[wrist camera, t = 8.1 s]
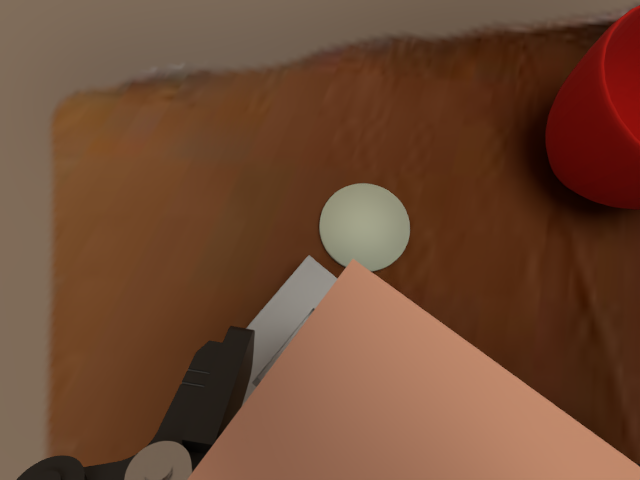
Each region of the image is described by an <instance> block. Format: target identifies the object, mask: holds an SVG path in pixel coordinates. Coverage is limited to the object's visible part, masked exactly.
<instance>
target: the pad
mask: <svg viewBox="0 0 640 480" xmlns="http://www.w3.org/2000/svg"><path fill="white" fill-rule="evenodd" d="M319 229H320V237H321V240H322V243H323V246H324V248H325V249H326V251H327V253H328V254H329V255H330V256H331V258H333V259H334V260H335V261H336V262H337V263H339V264H340V265H342V266H343V267H345V268H346V267H347V266H348V264H349V263H350V262H351V260H352V259H354V260H355V261H357V262H358V263H360V264H361V265H362V266H364V267H365V268H367V269H368V270H369V271H371V272H372V271H377V270H380V269H383V268H385V267H387V266H389V265H390V264H392V263H393V262H394V261H395V260H396V259H398V257H399V256H400V255H401V254H402V253H403V251H404V250H405V247H406V245H407V243H408V240H409V235H410V223H409V218H408V215H407V212H406V210H405V208H404V206H403V205H402V203H401V202H400V201H399V199H398V198H397V197H396V196H395V195H393V194H392V193H391V192H389V191H388V190H386V189H384V188H382V187H379V186H377V185H373V184H354V185H350V186H347V187H344V188H342V189H341V190H339V191H337V192H336V193H335V194H334V195H333V196H332V197H331V198H330V199H329V200H328V201H327V203H326V204H325V206H324V208H323V211H322V213H321V217H320V225H319Z"/></svg>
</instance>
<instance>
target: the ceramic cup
mask: <svg viewBox="0 0 640 480" xmlns="http://www.w3.org/2000/svg"><path fill="white" fill-rule="evenodd" d="M545 137H546V150H547V154H548V159H549V163H550V166H551V168H552V170H553V173H554V174H555V175H556V177H557V178H558V179H559V180H560V182H561V183H562V184H563V185H565V186H566V187H567V188H569V189H570V190H572V191H574V192H576V193H577V194H579V195H581V196H583V197H585V198H587V199H589V200H591V201H594V202H597V203H600V204H603V205H607V206H611V207H617V208H625V209H635V210H640V5H639V6H637V7H635V8H633V9H631V10H630V11H629V12H627V13H626V14H625V15H623V16H622V17H621V18H620V19H618V20H617V21H616V22H615V23H614V24H612V25H611V26H610V27H609V28H608V29H607V31H606V32H605V33H604V34H603V35H602V36H601V37H600V38H599V39H598V40H597V42H596V43H595V44H594V45H593V46H592V47H591V48H590V50H589V51H588V52H587V53H586V54H585V56H584V57H583V58H582V59H581V61H580V62H579V63H578V64H577V66H576V67H575V68H574V70H573V71H572V72H571V73H570V75H569V76H568V77H567V79H566V80H565V82H564V83H563V85H562V86H561V88H560V90H559V92H558V94H557V96H556V98H555V100H554V103H553V105H552V107H551V110H550V112H549V116H548V120H547V126H546V132H545Z"/></svg>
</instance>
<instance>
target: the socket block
mask: <svg viewBox="0 0 640 480" xmlns="http://www.w3.org/2000/svg"><path fill="white" fill-rule="evenodd" d="M336 280H337V278H336V277H335V276H333V275H332V274H331V273H330V272H329V271H327V270H326V269H325V268H324V267H322V266H321V265H320V264H319V263H318V262H316V261H315V260H314V259H313V258H312V257H310V256H308V257H307V258H306V259H305V260H304V261H303V263H302V264H301V265H300V266H299V267H298V268H297V270H296V271H295V272H294V273H293V274H292V275H291V277H290V278H289V279H288V280H287V281H286V282H285V284H284V285H283V286H282V287H281V288H280V289H279V291H278V292H277V293H276V294H275V295H274V296H273V298H272V299H271V300H270V301H269V302H268V303H267V305H266V306H265V307H264V308H263V309H262V310H261V312H260V313H259V314H258V315H257V316H256V317H255V319H254V320H253V321H252V322H251V323H250V324H249V326H248V327H247V328H246V329H251V330H255V339H254V353H253V365H252V372H251V376H250V380H249V384H248V387H247V391H246V394H245V397H244V400H243V404H244V403H245V402H246V400H247V399H248V398H249V396H250V395H251V394H252V392H253V391H254V390H255V388H256V387H257V386H258V384H259V383H260V382H261V380H262V379H263V378H264V376H265V375H266V374H267V372H268V371H269V370H270V368H271V367H272V366H273V364H274V363H275V362H276V360H277V359H278V358H279V356H280V355H281V354H282V352H283V351H284V350H285V348H286V347H287V346H288V344H289V343H290V342H291V340H292V339H293V338H294V336H295V335H296V334H297V332H298V331H299V330H300V328H301V327H302V326H303V324H304V323H305V322H306V320H307V319H308V318H309V316H310V315H311V314H312V312H313V311H314V310H315V308H316V307H317V306H318V304H319V303H320V302H321V300H322V299H323V298H324V296H325V295H326V294H327V292H328V291H329V290H330V288H331V287H332V286H333V284H334V283H335V282H336ZM243 404H242V406H243Z"/></svg>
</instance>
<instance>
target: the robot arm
mask: <svg viewBox="0 0 640 480" xmlns="http://www.w3.org/2000/svg"><path fill="white" fill-rule="evenodd" d="M254 339H255V330H251V329H245V328H240V327H234V326H230V328H229V329H228V332H227V334H226V336H225V339H224V341H223V343H220V342H215V341H208V342H207V343H206V344H205V345H204V346H203V347H202V348H201V349H200V350H198V351H197V352H196V354H195V356H194V358H193V360H192V362H191V364H190V366H189V368H188V371H187V372H186V374H185V376H184V378H183V380H182V384H181V385H180V387H179V389H178V391H177V393H176V395H175V397H174V399H173V401H172V403H171V405H170V407H169V409H168V411H167V413H166V415H165V417H164V419H163V421H162V423H161V425H160V427H159V430H158V432H157V433H156V435H155V437H154V438H153V440H152V441H151V442H150V443H149V444H148V445H147V446H146V447H145V448H144V449H142V450H141V451H140V452H139V453H137V454H136V455H134V456H132V457H130V458H128V459H125V460H122V461H118V462H113V463H107V464H101V465H95V466H89V467H83V466H82V464H81V463H80V462H79V461H78V460H77V459H75V458H73V457H70V456H54V457H50V458H47V459H44V460H42V461H40V462H38V463H36V464H35V465H33V466H32V467H30V468H29V469H27V470H26V471H25V472H24V473H23V474H22V475H21V476H20V477H19V478H18V479H17V480H187V479H188V478H189V476H190V475H191V474H192V472H193V471H194V470H195V468H196V467H197V466H198V464H199V463H200V462H201V460H202V459H203V458H204V456H205V455H206V454H207V452H208V451H209V450H210V448H211V447H212V446H213V444H214V443H215V442H216V440H217V439H218V438H219V436H220V435H221V434H222V432H223V431H224V430H225V428H226V427H227V426H228V424H229V423H230V422H231V420H232V419H233V418H234V416H235V415H236V414H237V412H238V411H239V410H240V408H241V407H242V404H243V400H244V397H245V394H246V391H247V387H248V384H249V380H250V376H251V372H252V365H253V353H254Z"/></svg>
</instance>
